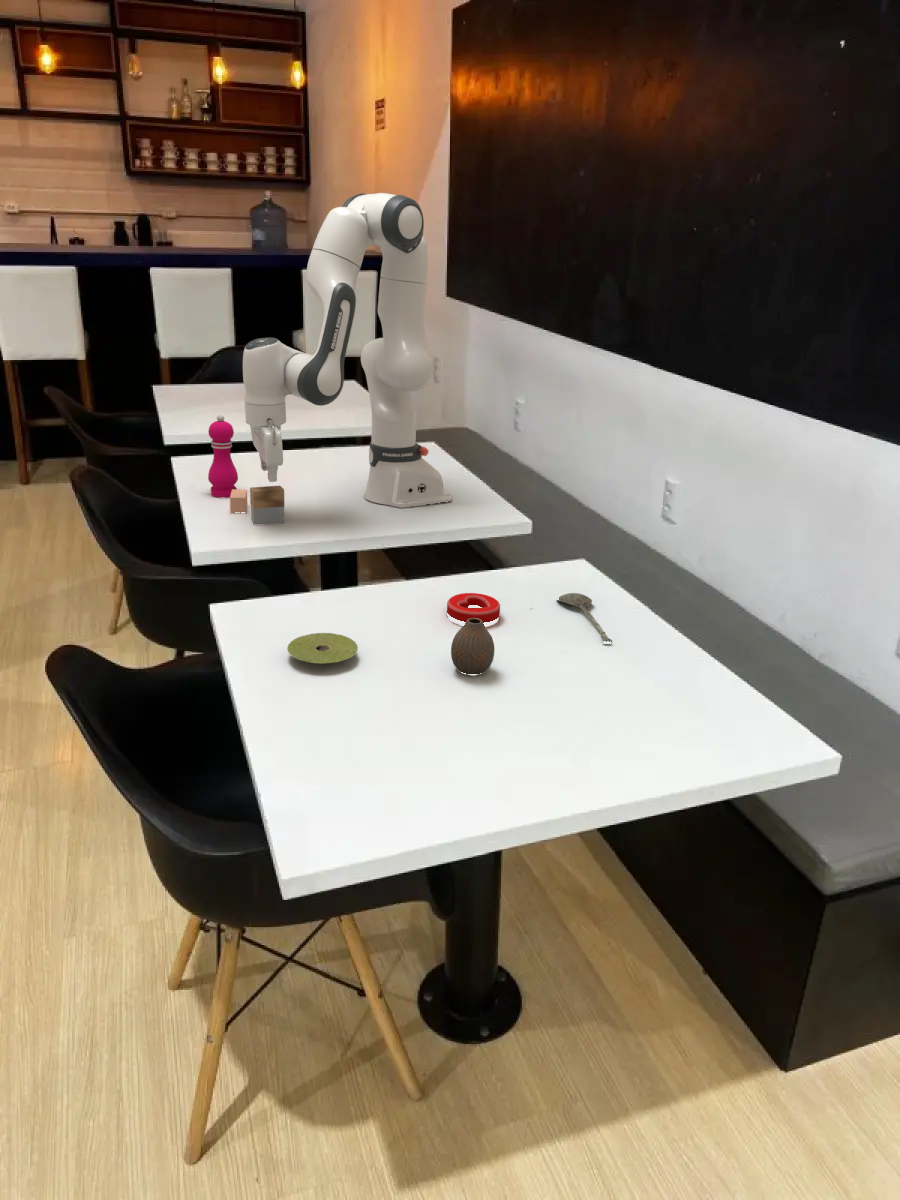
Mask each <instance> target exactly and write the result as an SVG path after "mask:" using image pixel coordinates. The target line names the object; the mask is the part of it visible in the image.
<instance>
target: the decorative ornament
mask: <svg viewBox="0 0 900 1200" xmlns="http://www.w3.org/2000/svg"><path fill="white" fill-rule="evenodd" d="M469 605H478V606H480V607H482V608H468V606H469ZM447 613H448V614H449V615H450V616H451V617H453V618H455V619H457V620H460V621H464V622H467V620H468V619H470V618H478V619H481V620H482V622H483V623H484V622H490V621H493V620H495V619H497V618H498V617H499V618H500V616H499V615H500V614H501V604H500V602H499V601H498V600H497V599H496V598H495V597H493V596H490V595H487V594H483V593H476V592H464V593H458V594H456V595H453V596H451V597H450V598H449V599H448V600H447V603H446V614H447Z"/></svg>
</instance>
